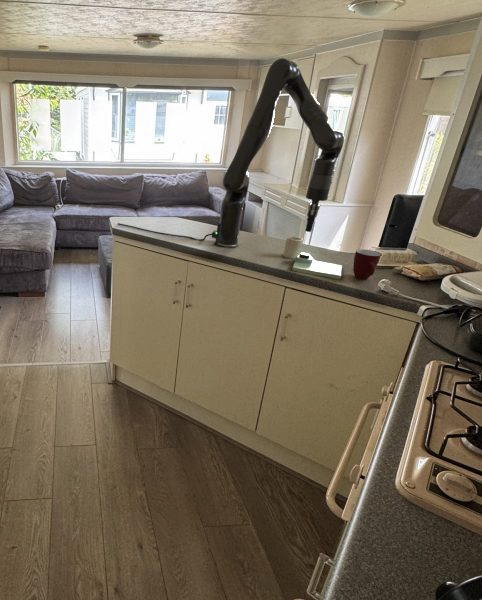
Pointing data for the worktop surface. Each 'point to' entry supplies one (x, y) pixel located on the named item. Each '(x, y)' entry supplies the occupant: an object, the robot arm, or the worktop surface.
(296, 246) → the cream cup
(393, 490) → the worktop surface
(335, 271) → the scale
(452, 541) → the worktop surface
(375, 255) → the mug
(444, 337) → the worktop surface
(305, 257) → the tare button
